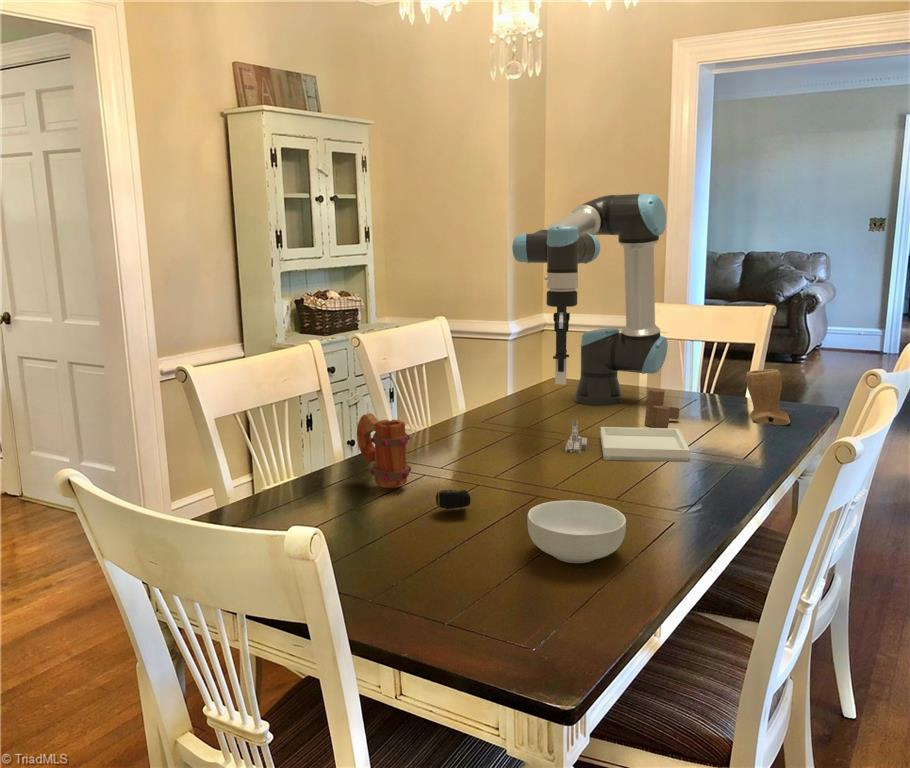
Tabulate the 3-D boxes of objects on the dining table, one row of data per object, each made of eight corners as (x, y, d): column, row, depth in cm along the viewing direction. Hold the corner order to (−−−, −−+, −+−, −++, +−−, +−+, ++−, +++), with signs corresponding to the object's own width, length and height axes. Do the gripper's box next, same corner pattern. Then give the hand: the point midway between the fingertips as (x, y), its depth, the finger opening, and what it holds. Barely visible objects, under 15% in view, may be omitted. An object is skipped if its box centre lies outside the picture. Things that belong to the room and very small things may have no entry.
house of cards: (599, 457, 192) (600, 426, 190) (563, 455, 194) (564, 425, 192) (601, 447, 200) (602, 418, 199) (567, 445, 202) (567, 416, 201)
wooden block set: (673, 438, 207) (678, 400, 205) (639, 433, 210) (644, 396, 207) (678, 423, 223) (682, 388, 221) (647, 419, 226) (651, 384, 224)
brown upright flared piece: (743, 414, 231) (746, 364, 228) (786, 416, 228) (790, 366, 225) (743, 426, 217) (746, 373, 214) (790, 429, 214) (794, 375, 211)
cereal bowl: (641, 569, 129) (643, 529, 127) (545, 580, 125) (545, 538, 124) (601, 531, 145) (602, 494, 144) (515, 539, 142) (515, 502, 140)
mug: (419, 484, 172) (418, 418, 169) (392, 494, 166) (390, 425, 163) (375, 471, 182) (373, 408, 179) (348, 479, 176) (345, 414, 173)
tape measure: (471, 510, 153) (470, 491, 153) (436, 512, 152) (435, 493, 153) (470, 506, 159) (469, 488, 160) (436, 508, 159) (435, 489, 159)
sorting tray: (600, 437, 208) (600, 426, 207) (678, 439, 205) (678, 428, 204) (603, 459, 188) (603, 447, 188) (689, 462, 186) (689, 450, 185)
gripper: (547, 287, 200) (546, 378, 204) (545, 292, 187) (544, 388, 192) (577, 287, 198) (576, 379, 203) (577, 292, 186) (575, 389, 190)
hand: (560, 383), depth 197 cm, fingers closed
